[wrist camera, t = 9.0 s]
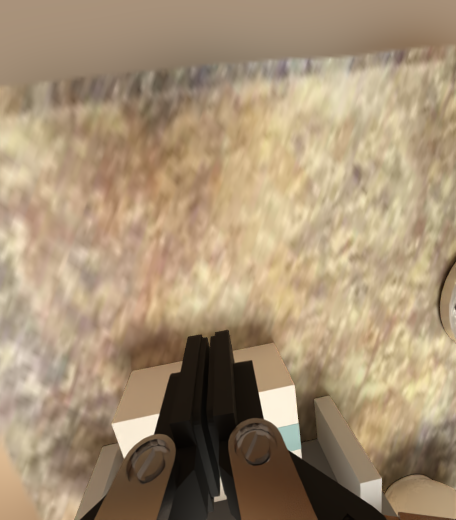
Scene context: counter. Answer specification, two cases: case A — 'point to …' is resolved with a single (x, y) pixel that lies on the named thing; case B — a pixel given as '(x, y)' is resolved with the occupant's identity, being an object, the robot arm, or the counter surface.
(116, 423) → the carton
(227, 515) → the display stand
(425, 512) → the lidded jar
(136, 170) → the counter surface
